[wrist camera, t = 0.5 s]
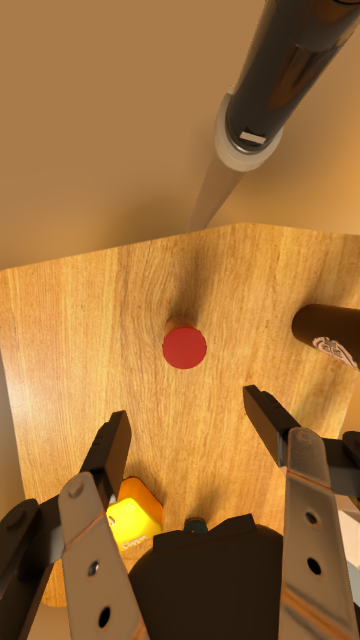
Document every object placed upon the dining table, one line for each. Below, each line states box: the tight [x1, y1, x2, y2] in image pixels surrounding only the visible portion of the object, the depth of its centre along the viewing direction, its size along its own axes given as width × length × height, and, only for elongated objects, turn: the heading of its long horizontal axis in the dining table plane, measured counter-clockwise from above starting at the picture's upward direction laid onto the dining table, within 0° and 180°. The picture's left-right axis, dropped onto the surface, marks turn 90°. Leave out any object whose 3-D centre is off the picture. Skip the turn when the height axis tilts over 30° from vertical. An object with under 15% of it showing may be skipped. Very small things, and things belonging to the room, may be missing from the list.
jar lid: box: [162, 324, 207, 369], centre depth 26 cm, size 6×6×2 cm
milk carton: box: [280, 466, 360, 571], centre depth 34 cm, size 7×7×19 cm
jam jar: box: [165, 315, 197, 335], centre depth 30 cm, size 6×6×10 cm
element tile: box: [107, 477, 163, 553], centre depth 42 cm, size 15×15×5 cm
